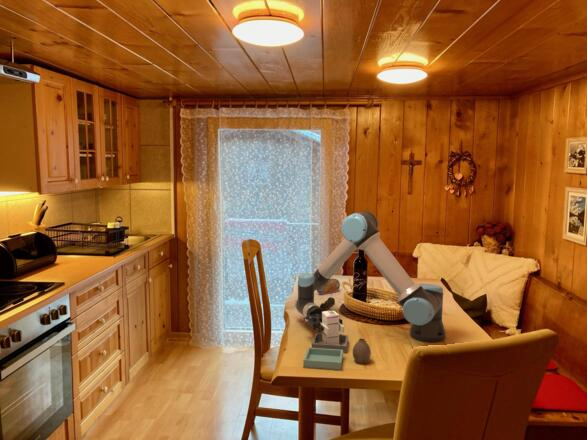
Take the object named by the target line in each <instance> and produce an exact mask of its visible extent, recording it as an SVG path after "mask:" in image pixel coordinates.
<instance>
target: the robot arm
mask: <svg viewBox="0 0 587 440" xmlns="http://www.w3.org/2000/svg"><path fill="white" fill-rule="evenodd" d="M340 228H341V233H342V236H343V239H342V241H340V242H339V244H338V245H337V246H336V247H335V248H334V249H333V250H332V252H331V253H330V254H329V256H328V257H326V258H325V260H324V261H323V262H322V263H321V264H320V266H319V267H318V268H317V269H316V270H315V271H314V273H309V272H304V273H300V274H298V276H297V298H296V300H295V302H294V305H295V307H294V308H295V309H296V310H297V312H298V313H299V314H300V315H302V316H304V320H305V321H304V322H305V324H307V325H309V327H310V328H311V329H312V330H317V332H322V331H323V332H324V333H325V334H326V335H329V328H328V327H327V326H325V325H324V324H323V323H322V312H324V311H323V309H321V308H320V305H317V303H315V292H317V289H319V288H321V287H324V286H325V285H326V284H327V283H328V282H329V279H331V278H333V277H332V276H334V274H336V273H337V271H338V270H339V269H340V268H341V267H342V266H343V265H344V264H345V262H347V260H348V259H349V258H350V257H351V256H352V255H353V253H354V252H355V251H356V250H362V251H363V252H364V253H365V254H366V255H367V257H368V258H369V260H371V262H372V264H373V265H374V266H375V267H376V269H377V270H378V271H379V273H380V274H381V275H382V276H383V278H384V279H385V280H386V282H387V283H388V284H389V286H390V287H391V288H392V290H393V291H394V292H395V294H396V295H397V303H398V304H399V305H400V306H401V308H402V315H403V318H404V319H405V320H406V321H407V322H408V323H410V324H411V327H410V329H409V335H410V337H411V338H413V339H415V340H417V341H420V342H425V343H437V342H438V343H439V342H443V341H444V340H445V339H446V338H447V337H446V335H447V334H446V329H445V326H444V323H443V307H444V306H443V305H444V304H443V303H444V288H443V287H442V286H441V285H438V284H432V283H415V281H414V280H413V279H412V278H411V277H410V275H409V274H408V273H407V271H406V270H405V269H404V268H403V266H402V265H401V264H400V263H399V261H398V260H397V258H396V257H395V256H394V255H393V254H392V252H391V250H390V249H388V247H387V246H386V244H385V243H384V242H383V241H382V239H381V238H380V236H381V232H380V231H379V230H378V229H379V220H378V218H377V216H376V215H375V214H374V213H373V212H370V211H368V210H367V211H366V210H364V211H360V212H355V213H352V214H350V215H348V216H347V217H345V218H344V219H343V221H342V223H341V227H340ZM340 332H341V334H344V333H345V326H344V325H343V319H341V318H340V317H339V333H340Z"/></svg>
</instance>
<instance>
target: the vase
mask: <svg viewBox="0 0 587 440" xmlns="http://www.w3.org/2000/svg"><path fill="white" fill-rule="evenodd" d="M371 353H372V351H371V347H370V345H369V344H368V343H367V341H366V339H365V338H359V339H358V341H357V342H355V344H354V346H353V348H352V358H353V360H354V361H355V362H356V363H358V364H366V363H368V362H369V361H370V358H371Z"/></svg>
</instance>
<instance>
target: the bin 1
mask: <svg viewBox="0 0 587 440" xmlns="http://www.w3.org/2000/svg"><path fill="white" fill-rule="evenodd" d="M318 342H322V333H318V332H317V333H316V332H315V333H314V337H313V339H312V342H311V348H323V349H337V350H343V354H347V352H348V346H349V335H348V334H339V343H344V344H339V345H333V344H322V343H318Z"/></svg>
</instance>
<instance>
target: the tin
mask: <svg viewBox="0 0 587 440" xmlns="http://www.w3.org/2000/svg"><path fill="white" fill-rule="evenodd" d="M340 287H341V283H340V281H339V280H338V279H336V278H333V277H331V278H330V279H329V282H328V283H327V284H326V285H325V286H324V287H321V288H319V289H317V290H316V292H317V294H320V295H322V296H325V295H326V296H327V295H329V294H331V295H332V294H335V293H337V292H338V291H339V290H340Z"/></svg>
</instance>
